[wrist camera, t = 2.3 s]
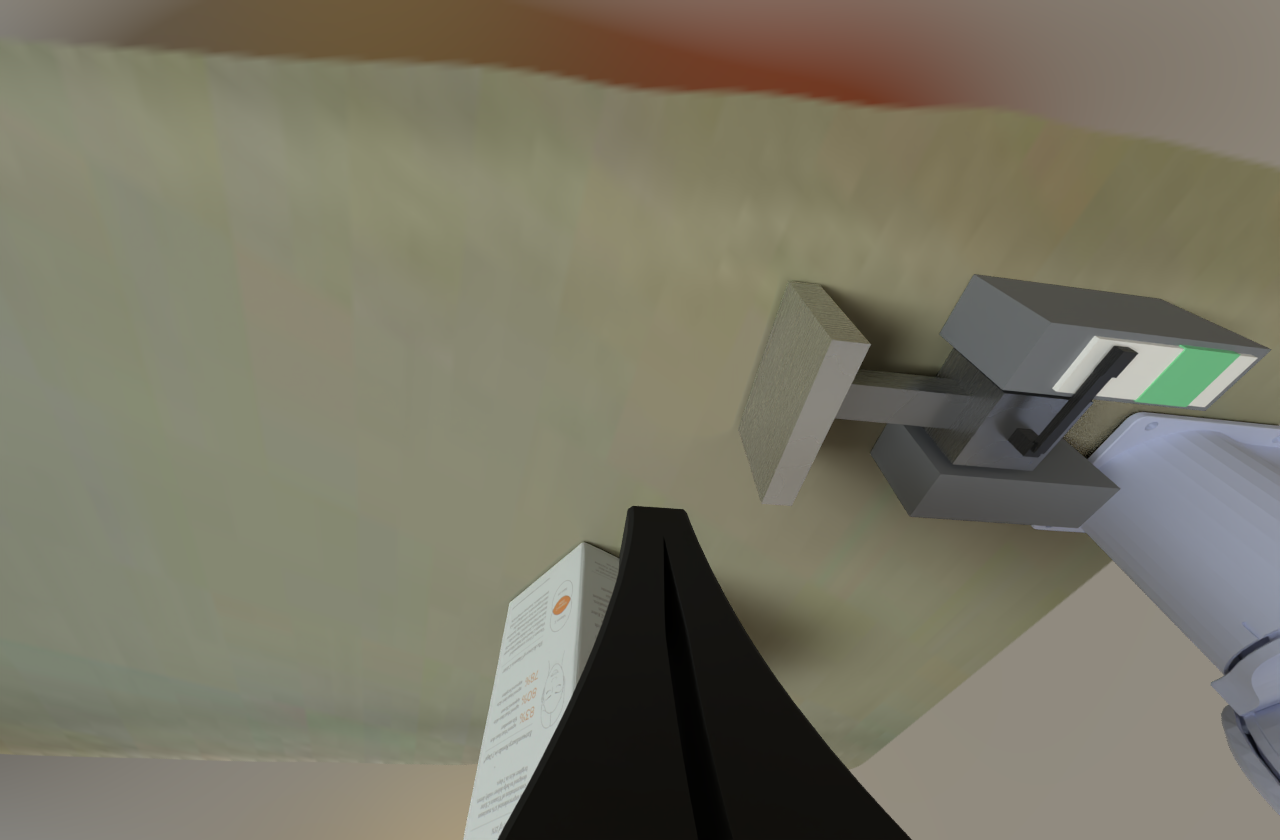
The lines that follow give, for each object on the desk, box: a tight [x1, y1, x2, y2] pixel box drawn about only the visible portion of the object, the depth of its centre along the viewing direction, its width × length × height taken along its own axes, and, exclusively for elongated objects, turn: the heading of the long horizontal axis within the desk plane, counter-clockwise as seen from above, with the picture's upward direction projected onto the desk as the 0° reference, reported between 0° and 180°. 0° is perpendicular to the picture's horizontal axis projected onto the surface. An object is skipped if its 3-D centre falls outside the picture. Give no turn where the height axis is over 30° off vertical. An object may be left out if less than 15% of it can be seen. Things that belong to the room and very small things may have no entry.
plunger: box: [738, 281, 1138, 506], centre depth 18 cm, size 11×8×4 cm
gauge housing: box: [870, 274, 1271, 528], centre depth 19 cm, size 8×9×4 cm
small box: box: [463, 542, 619, 840], centre depth 24 cm, size 8×6×13 cm
